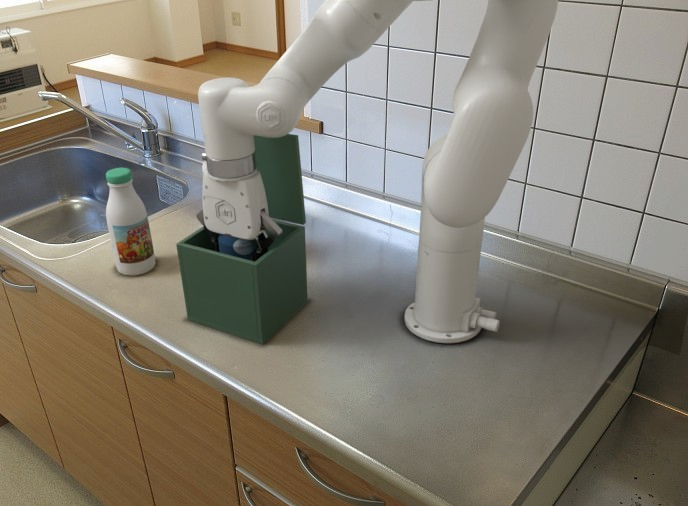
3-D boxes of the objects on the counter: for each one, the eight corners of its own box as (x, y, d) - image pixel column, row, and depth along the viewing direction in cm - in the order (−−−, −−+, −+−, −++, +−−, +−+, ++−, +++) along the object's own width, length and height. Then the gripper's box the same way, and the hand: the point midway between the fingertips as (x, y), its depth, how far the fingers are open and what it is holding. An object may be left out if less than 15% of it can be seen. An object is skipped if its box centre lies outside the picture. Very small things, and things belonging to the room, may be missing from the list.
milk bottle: (109, 273, 131) (88, 177, 120) (129, 255, 137) (110, 162, 127) (144, 278, 129) (125, 180, 118) (162, 259, 135) (147, 165, 124)
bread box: (262, 344, 109) (256, 264, 101) (187, 320, 116) (175, 243, 108) (307, 301, 119) (305, 226, 111) (236, 281, 126) (228, 209, 118)
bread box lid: (295, 137, 101) (298, 135, 102) (213, 124, 109) (216, 122, 109) (303, 225, 111) (306, 222, 111) (227, 208, 118) (229, 206, 118)
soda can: (264, 300, 111) (258, 235, 105) (222, 301, 111) (214, 237, 105) (266, 279, 117) (261, 216, 110) (227, 280, 117) (219, 218, 111)
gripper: (171, 163, 104) (187, 264, 113) (265, 180, 95) (274, 287, 105) (201, 148, 109) (214, 245, 118) (293, 163, 101) (298, 266, 110)
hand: (242, 264), depth 111 cm, fingers closed on soda can, 7 cm apart
